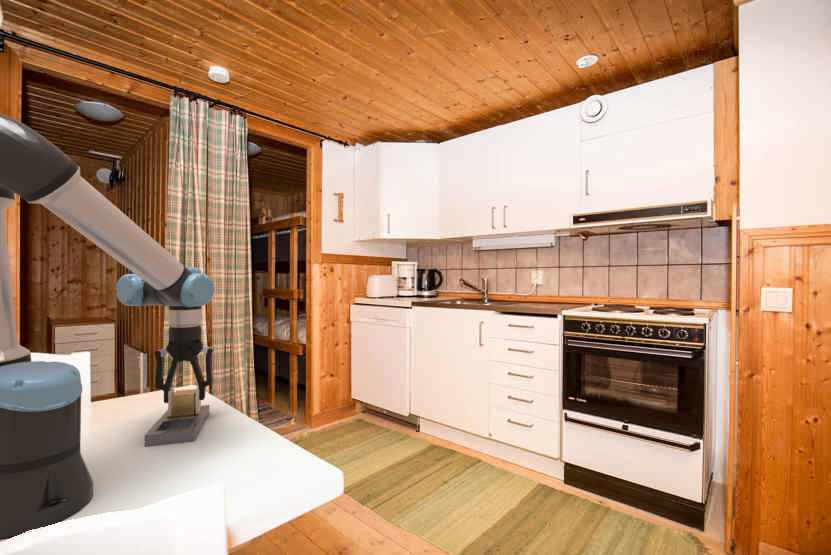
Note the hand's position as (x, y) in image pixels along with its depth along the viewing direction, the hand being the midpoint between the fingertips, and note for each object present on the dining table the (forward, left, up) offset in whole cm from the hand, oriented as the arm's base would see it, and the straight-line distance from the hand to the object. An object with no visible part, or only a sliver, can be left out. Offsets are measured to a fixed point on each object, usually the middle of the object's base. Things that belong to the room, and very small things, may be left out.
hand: (184, 413), depth 105 cm
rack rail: (-4, 0, -2) cm, 5 cm away
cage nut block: (0, 0, -2) cm, 2 cm away
